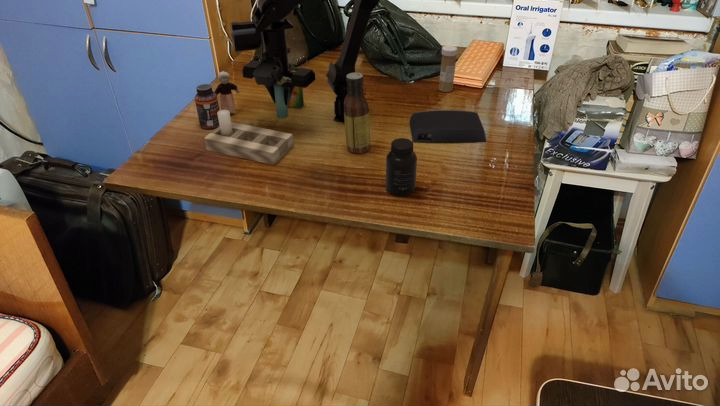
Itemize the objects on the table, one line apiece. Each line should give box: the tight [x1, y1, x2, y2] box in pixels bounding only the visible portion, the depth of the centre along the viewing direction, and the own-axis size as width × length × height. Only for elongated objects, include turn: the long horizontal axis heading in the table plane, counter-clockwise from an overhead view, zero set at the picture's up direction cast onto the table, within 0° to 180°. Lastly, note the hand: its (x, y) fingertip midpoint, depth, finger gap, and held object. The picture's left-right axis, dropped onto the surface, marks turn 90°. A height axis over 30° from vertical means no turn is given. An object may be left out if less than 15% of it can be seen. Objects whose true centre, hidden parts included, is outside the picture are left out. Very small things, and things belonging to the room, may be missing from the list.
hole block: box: [203, 121, 294, 166], centre depth 135 cm, size 20×10×4 cm, turn 68°
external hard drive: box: [408, 109, 487, 144], centre depth 141 cm, size 13×19×4 cm
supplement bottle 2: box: [385, 137, 418, 197], centre depth 117 cm, size 7×7×12 cm
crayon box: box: [277, 66, 305, 110], centre depth 152 cm, size 7×3×12 cm, turn 68°
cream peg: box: [217, 109, 233, 137], centre depth 135 cm, size 3×3×9 cm
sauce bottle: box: [344, 71, 371, 154], centre depth 130 cm, size 6×6×20 cm
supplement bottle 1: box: [194, 83, 221, 130], centre depth 143 cm, size 6×6×11 cm
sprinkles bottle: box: [438, 44, 458, 93], centre depth 160 cm, size 5×5×13 cm
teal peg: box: [274, 83, 289, 120], centre depth 140 cm, size 3×3×9 cm
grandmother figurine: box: [214, 70, 241, 115], centre depth 148 cm, size 8×4×13 cm, turn 131°
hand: (281, 103), depth 140 cm, fingers closed on teal peg, 3 cm apart
